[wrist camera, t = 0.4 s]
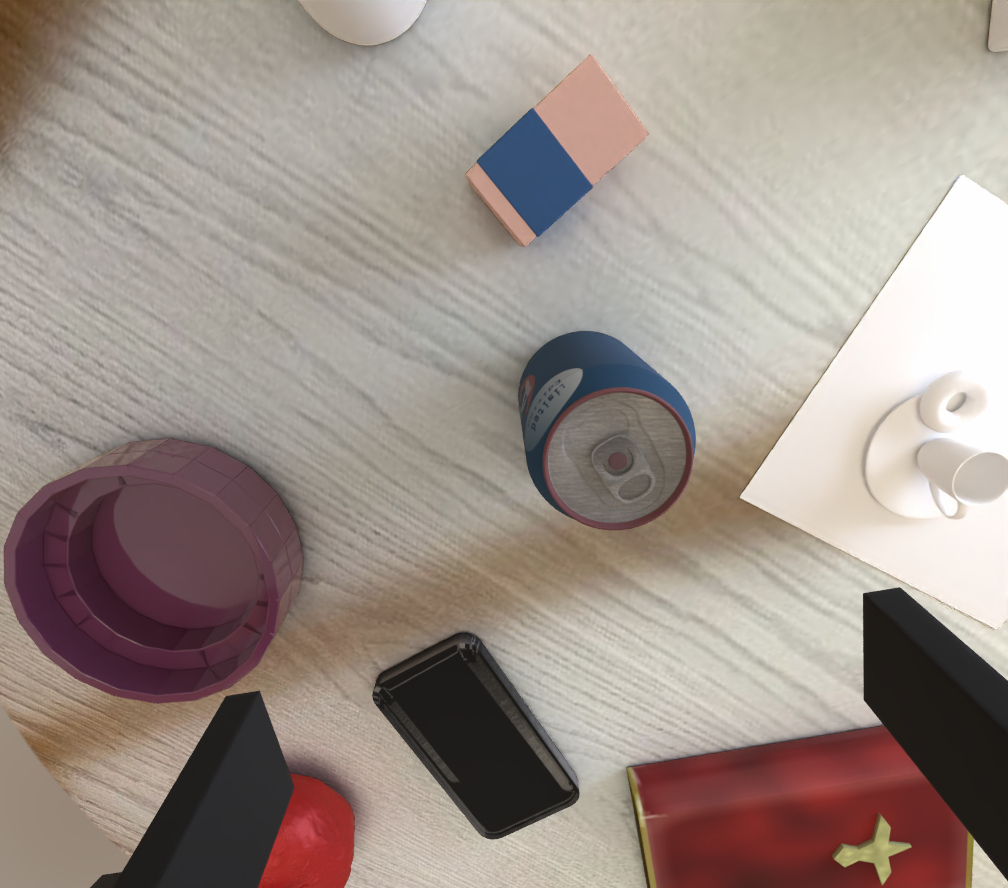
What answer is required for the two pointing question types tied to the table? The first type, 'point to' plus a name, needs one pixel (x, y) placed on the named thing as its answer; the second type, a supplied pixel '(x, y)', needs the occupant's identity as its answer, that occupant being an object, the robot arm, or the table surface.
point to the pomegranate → (312, 839)
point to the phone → (476, 736)
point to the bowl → (154, 570)
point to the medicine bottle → (998, 26)
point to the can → (364, 18)
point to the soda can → (604, 432)
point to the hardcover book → (799, 818)
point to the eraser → (556, 152)
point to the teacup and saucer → (915, 421)
